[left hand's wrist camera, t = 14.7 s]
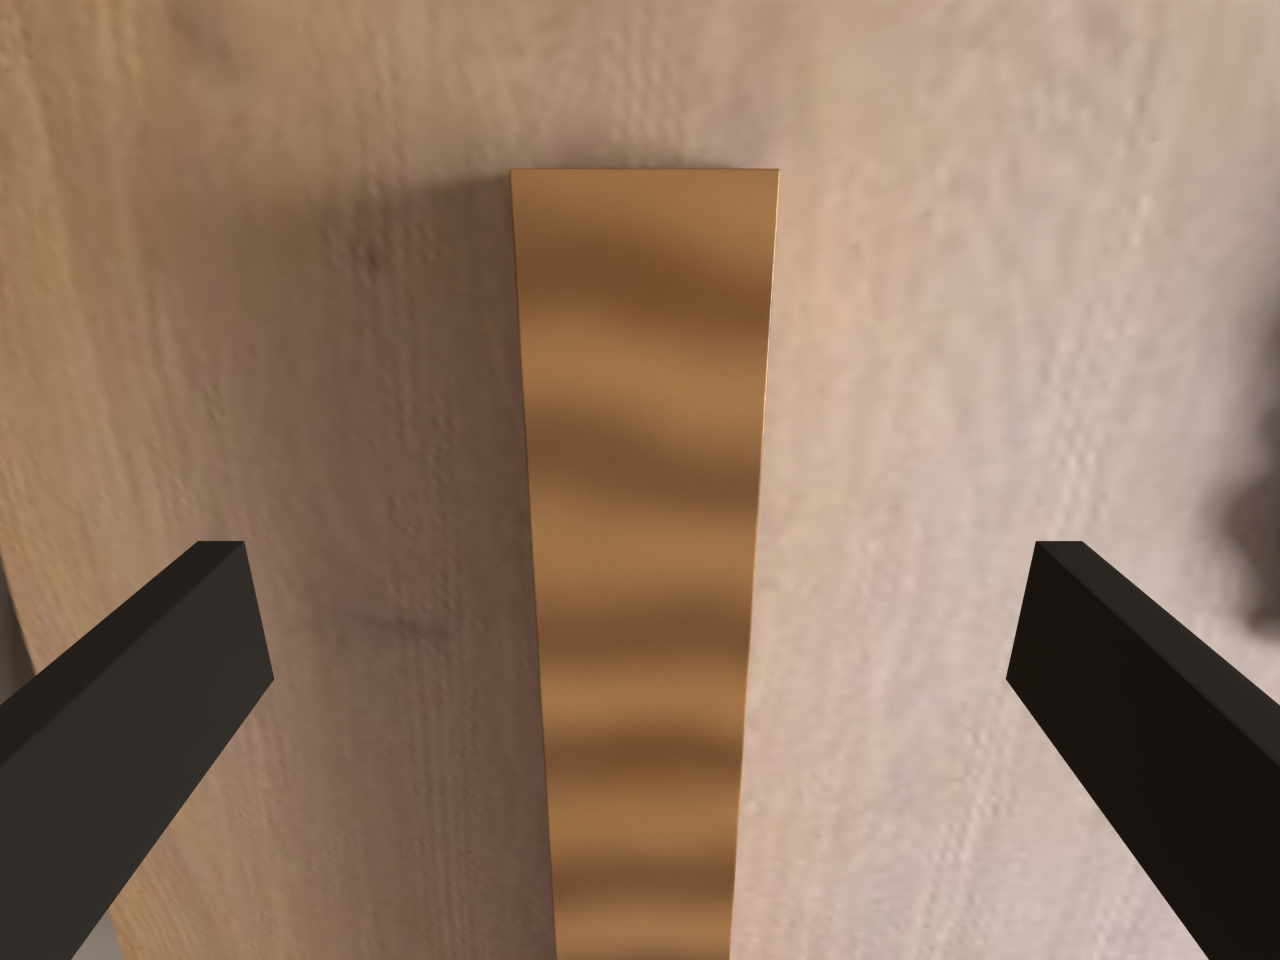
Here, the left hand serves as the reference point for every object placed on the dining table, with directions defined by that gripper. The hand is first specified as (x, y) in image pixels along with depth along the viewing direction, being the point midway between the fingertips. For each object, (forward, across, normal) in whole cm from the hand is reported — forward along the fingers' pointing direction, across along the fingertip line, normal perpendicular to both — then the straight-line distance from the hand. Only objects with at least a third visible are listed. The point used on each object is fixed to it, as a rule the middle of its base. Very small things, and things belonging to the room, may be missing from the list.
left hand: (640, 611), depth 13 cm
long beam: (+24, 0, -25) cm, 34 cm away
